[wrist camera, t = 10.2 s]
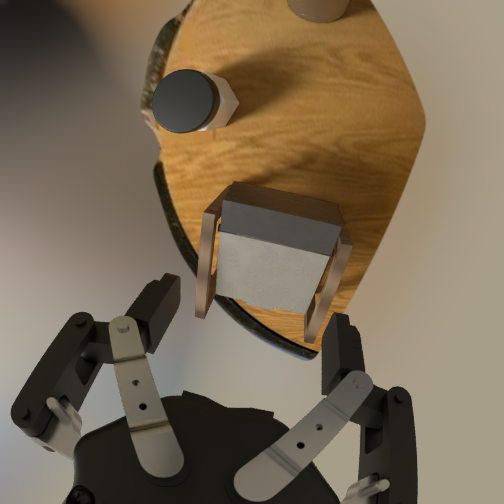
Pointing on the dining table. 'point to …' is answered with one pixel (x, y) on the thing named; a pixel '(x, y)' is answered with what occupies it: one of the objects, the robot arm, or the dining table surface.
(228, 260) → the trapdoor
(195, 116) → the jar
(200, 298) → the frame
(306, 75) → the dining table surface
